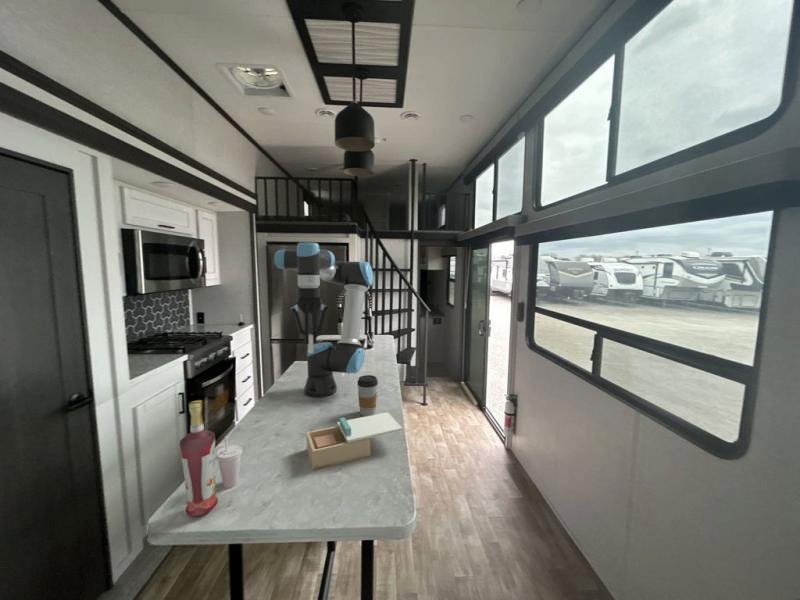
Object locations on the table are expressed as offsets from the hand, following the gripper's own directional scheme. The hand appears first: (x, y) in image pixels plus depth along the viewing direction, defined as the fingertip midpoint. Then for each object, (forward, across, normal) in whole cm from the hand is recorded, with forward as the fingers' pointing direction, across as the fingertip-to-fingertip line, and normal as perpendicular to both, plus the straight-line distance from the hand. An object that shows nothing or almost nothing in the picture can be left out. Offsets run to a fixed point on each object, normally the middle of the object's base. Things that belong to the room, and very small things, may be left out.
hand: (310, 352), depth 118 cm
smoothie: (+30, -26, -21) cm, 45 cm away
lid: (+23, +16, -19) cm, 33 cm away
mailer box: (+29, +5, -18) cm, 35 cm away
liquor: (+30, -32, -29) cm, 52 cm away
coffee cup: (+30, +23, +4) cm, 38 cm away
